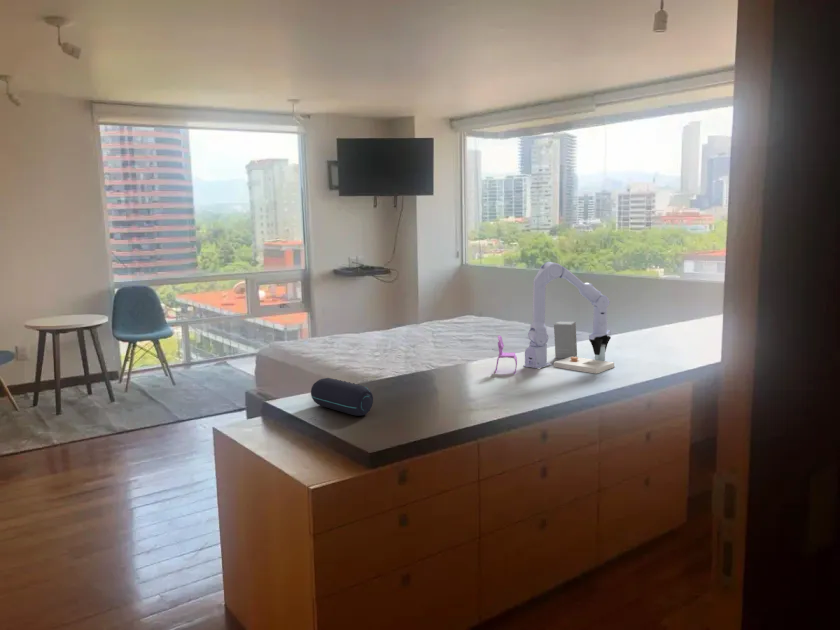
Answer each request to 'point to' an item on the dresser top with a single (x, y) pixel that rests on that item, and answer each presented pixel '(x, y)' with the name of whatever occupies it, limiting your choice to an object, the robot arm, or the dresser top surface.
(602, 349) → the cup
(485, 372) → the dresser top surface
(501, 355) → the toy chair
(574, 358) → the tan round piece
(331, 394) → the portable speaker
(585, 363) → the housing
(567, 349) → the skincare box
